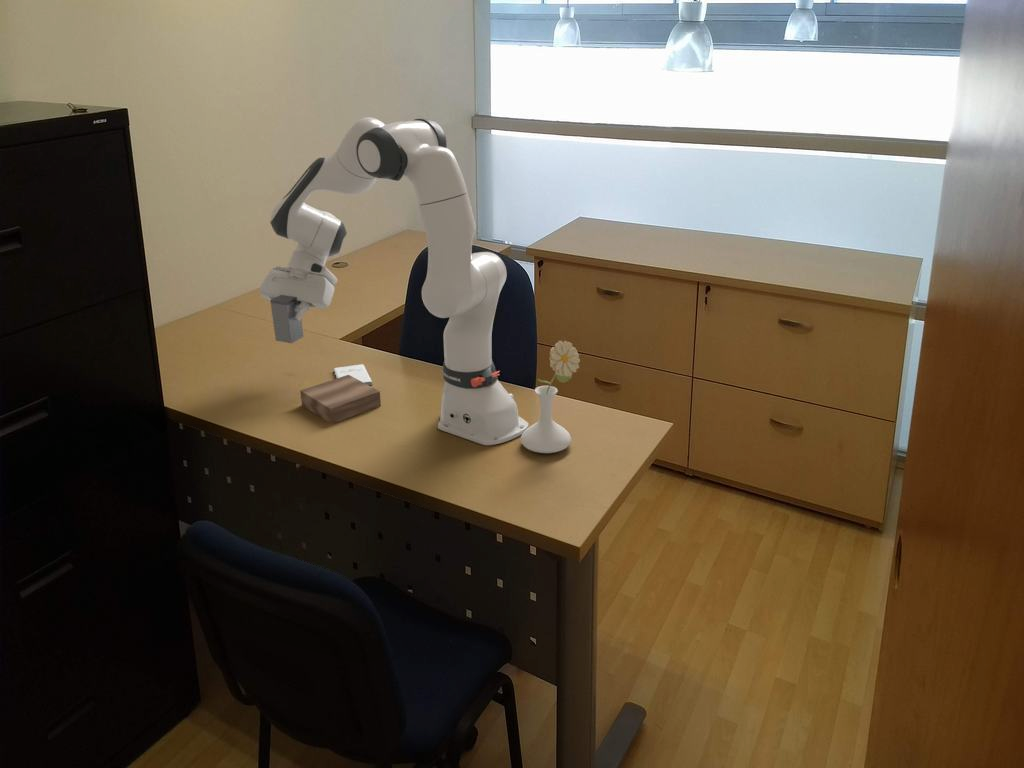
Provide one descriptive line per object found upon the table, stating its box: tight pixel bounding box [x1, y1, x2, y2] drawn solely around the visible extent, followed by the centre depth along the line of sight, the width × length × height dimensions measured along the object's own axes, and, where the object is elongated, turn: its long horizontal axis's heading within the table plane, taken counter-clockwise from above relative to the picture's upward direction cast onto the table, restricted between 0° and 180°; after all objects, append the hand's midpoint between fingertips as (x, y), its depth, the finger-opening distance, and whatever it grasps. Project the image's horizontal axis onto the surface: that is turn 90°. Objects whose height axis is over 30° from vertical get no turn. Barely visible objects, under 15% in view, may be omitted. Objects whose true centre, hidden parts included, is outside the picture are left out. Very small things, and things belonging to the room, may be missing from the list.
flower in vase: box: [520, 340, 581, 454], centre depth 189 cm, size 13×11×25 cm
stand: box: [299, 375, 382, 424], centre depth 213 cm, size 14×14×4 cm
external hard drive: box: [333, 363, 373, 386], centre depth 228 cm, size 2×8×12 cm
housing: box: [269, 295, 304, 344], centre depth 220 cm, size 5×5×11 cm
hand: (285, 317), depth 219 cm, fingers closed on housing, 5 cm apart
